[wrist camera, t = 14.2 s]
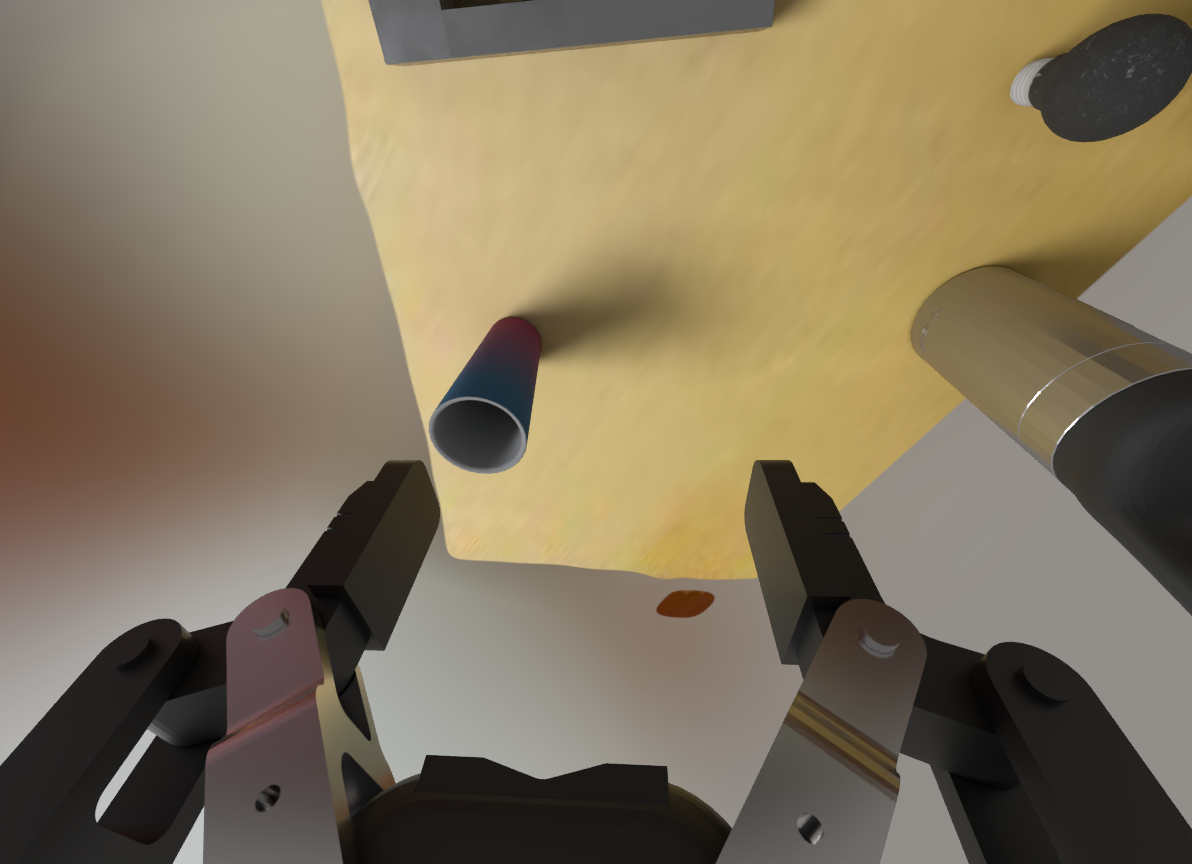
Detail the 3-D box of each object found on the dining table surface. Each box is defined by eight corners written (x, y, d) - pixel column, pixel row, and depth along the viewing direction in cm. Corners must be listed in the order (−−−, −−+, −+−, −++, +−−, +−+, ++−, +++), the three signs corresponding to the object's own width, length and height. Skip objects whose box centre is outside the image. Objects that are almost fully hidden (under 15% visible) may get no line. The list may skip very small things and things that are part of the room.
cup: (559, 364, 45) (540, 465, 33) (495, 379, 47) (454, 480, 35) (536, 299, 41) (505, 387, 29) (467, 317, 43) (410, 408, 31)
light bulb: (958, 125, 33) (1069, 138, 25) (1011, 20, 29) (1160, -4, 21) (1032, 137, 33) (1166, 154, 25) (1093, 35, 30) (1270, 17, 22)
